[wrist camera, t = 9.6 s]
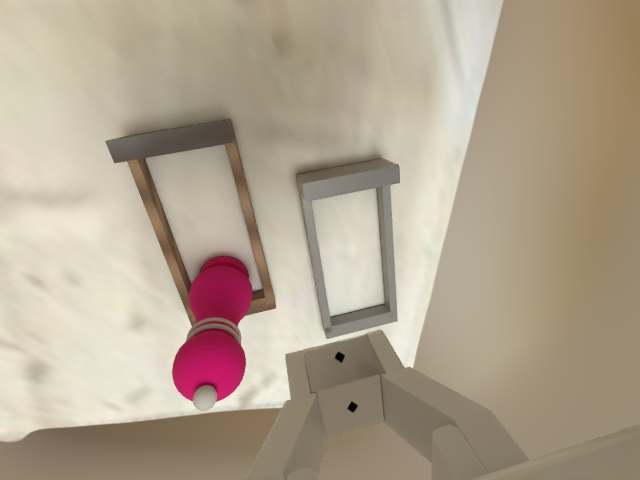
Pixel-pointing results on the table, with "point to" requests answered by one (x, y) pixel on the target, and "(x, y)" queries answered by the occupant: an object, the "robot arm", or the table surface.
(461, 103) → the table surface
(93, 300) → the table surface
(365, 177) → the grey open rectangular frame
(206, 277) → the pepper mill
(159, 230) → the brown wooden rectangular frame
